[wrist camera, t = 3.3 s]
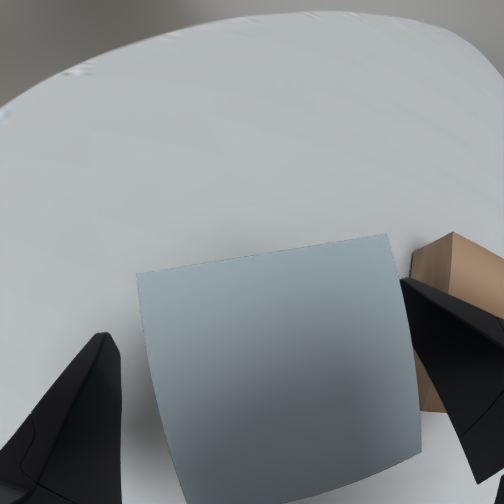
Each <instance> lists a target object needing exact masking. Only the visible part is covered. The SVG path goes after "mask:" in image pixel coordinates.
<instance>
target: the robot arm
mask: <svg viewBox="0 0 504 504" xmlns="http://www.w3.org/2000/svg"><path fill="white" fill-rule="evenodd" d="M399 281H400V286H401V290H402V295H403V299H404V304H405V309H406V314H407V319H408V324H409V330H410V335H411V341H412V346H413V348H414V350H415V352H416V354H417V355H418V357H419V359H420V361H421V363H422V365H423V366H424V368H425V370H426V372H427V374H428V376H429V378H430V380H431V382H432V384H433V386H434V387H435V389H436V391H437V393H438V395H439V397H440V400H441V402H442V404H443V406H444V408H445V410H446V412H447V414H448V416H449V418H450V420H451V423H452V425H453V427H454V429H455V431H456V434H457V436H458V438H459V441H460V443H461V446H462V448H463V450H464V453H465V455H466V458H467V460H468V463H469V465H470V468H471V470H472V473H473V475H474V478H475V481H476V483H477V484H480V483H481V482H483V481H485V480H486V479H488V478H489V477H491V476H493V475H494V474H496V473H497V472H499V471H500V470H502V469H503V468H504V319H502V318H500V317H498V316H495V315H494V314H492V313H489V312H487V311H485V310H483V309H481V308H479V307H476V306H474V305H472V304H470V303H468V302H465V301H463V300H461V299H459V298H457V297H454V296H452V295H450V294H448V293H445V292H443V291H441V290H439V289H436V288H434V287H432V286H430V285H427V284H425V283H423V282H420V281H418V280H416V279H413V278H411V277H406V278H402V279H400V280H399ZM121 413H122V391H121V358H120V352H119V350H118V348H117V346H116V344H115V342H114V340H113V338H112V337H111V335H110V334H109V333H108V332H102V333H96V334H95V335H94V336H93V337H92V338H91V339H90V340H89V342H88V343H87V344H86V345H85V346H84V347H83V349H82V350H81V351H80V352H79V353H78V354H77V356H76V357H75V358H74V359H73V360H72V362H71V363H70V364H69V365H68V366H67V368H66V369H65V370H64V371H63V372H62V374H61V375H60V376H59V377H58V379H57V380H56V381H55V382H54V384H53V385H52V386H51V387H50V389H49V390H48V391H47V392H46V394H45V395H44V396H43V397H42V399H41V400H40V401H39V402H38V404H37V405H36V406H35V408H34V409H33V410H32V412H31V414H29V415H28V417H27V418H26V419H25V421H24V422H23V423H22V425H21V426H20V427H19V428H18V430H17V431H16V432H15V434H14V435H13V436H12V437H11V438H10V440H9V441H8V442H7V443H6V444H5V445H4V447H3V448H2V449H1V450H0V504H122V495H121V462H120V448H121ZM494 504H504V474H503V475H502V476H501V479H500V484H499V488H498V492H497V496H496V499H495V503H494Z"/></svg>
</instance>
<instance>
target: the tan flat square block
mask: <svg viewBox="0 0 504 504" xmlns="http://www.w3.org/2000/svg"><path fill="white" fill-rule="evenodd" d="M410 277H411V278H413V279H416V280H418V281H420V282H423V283H425V284H427V285H430V286H432V287H434V288H436V289H439V290H441V291H443V292H445V293H448V294H450V295H452V296H454V297H457V298H459V299H461V300H463V301H465V302H468V303H470V304H472V305H474V306H476V307H479V308H481V309H483V310H485V311H487V312H489V313H492V314H494V315H495V316H498V317H500V318H502V319H504V259H503V258H501V257H499V256H497V255H496V254H494V253H492V252H490V251H489V250H487V249H485V248H483V247H481V246H480V245H478V244H476V243H474V242H472V241H470V240H468V239H466V238H465V237H463V236H461V235H459V234H457V233H455V232H451V233H449V234H447V235H446V236H444V237H442V238H440V239H438V240H436V241H434V242H432V243H430V244H428V245H426V246H424V247H422V248H420V249H419V250H417V251H415V252H414V254H413V262H412V269H411V276H410ZM412 348H413V346H412ZM413 354H414V361H415V369H416V377H417V385H418V395H419V407H420V411H427V412H441V413H447V412H446V410H445V408H444V406H443V404H442V402H441V400H440V397H439V395H438V393H437V391H436V389H435V387H434V386H433V384H432V382H431V380H430V378H429V376H428V374H427V372H426V370H425V368H424V366H423V365H422V363H421V361H420V359H419V357H418V355H417V354H416V352H415V350H414V348H413Z"/></svg>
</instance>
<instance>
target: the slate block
mask: <svg viewBox="0 0 504 504" xmlns="http://www.w3.org/2000/svg"><path fill="white" fill-rule="evenodd" d="M136 277H137V286H138V295H139V303H140V311H141V318H142V325H143V332H144V338H145V344H146V350H147V356H148V361H149V367H150V372H151V377H152V382H153V386H154V391H155V396H156V400H157V404H158V409H159V413H160V417H161V421H162V425H163V429H164V433H165V436H166V440H167V443H168V447H169V450H170V454H171V457H172V461H173V464H174V467H175V470H176V473H177V476H178V479H179V482H180V485H181V488H182V491H183V494H184V497H185V500H186V502H187V504H283V503H287V502H292V501H296V500H300V499H303V498H307V497H311V496H314V495H318V494H321V493H324V492H328V491H331V490H334V489H337V488H340V487H343V486H346V485H348V484H351V483H354V482H357V481H359V480H362V479H364V478H367V477H369V476H372V475H374V474H377V473H379V472H381V471H383V470H386V469H388V468H390V467H392V466H394V465H397V464H399V463H401V462H403V461H405V460H407V459H409V458H411V457H413V456H415V455H417V454H419V453H420V452H422V445H421V421H420V407H419V395H418V385H417V377H416V369H415V361H414V354H413V348H412V341H411V335H410V330H409V324H408V319H407V314H406V309H405V304H404V299H403V295H402V290H401V286H400V281H399V277H398V273H397V269H396V265H395V261H394V258H393V254H392V250H391V247H390V243H389V239H388V236H387V233H386V234H380V235H374V236H368V237H362V238H356V239H350V240H344V241H338V242H332V243H326V244H320V245H314V246H308V247H302V248H295V249H289V250H283V251H277V252H271V253H265V254H259V255H253V256H246V257H240V258H234V259H228V260H222V261H215V262H209V263H203V264H197V265H191V266H184V267H178V268H172V269H166V270H159V271H153V272H147V273H140V274H136Z"/></svg>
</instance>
